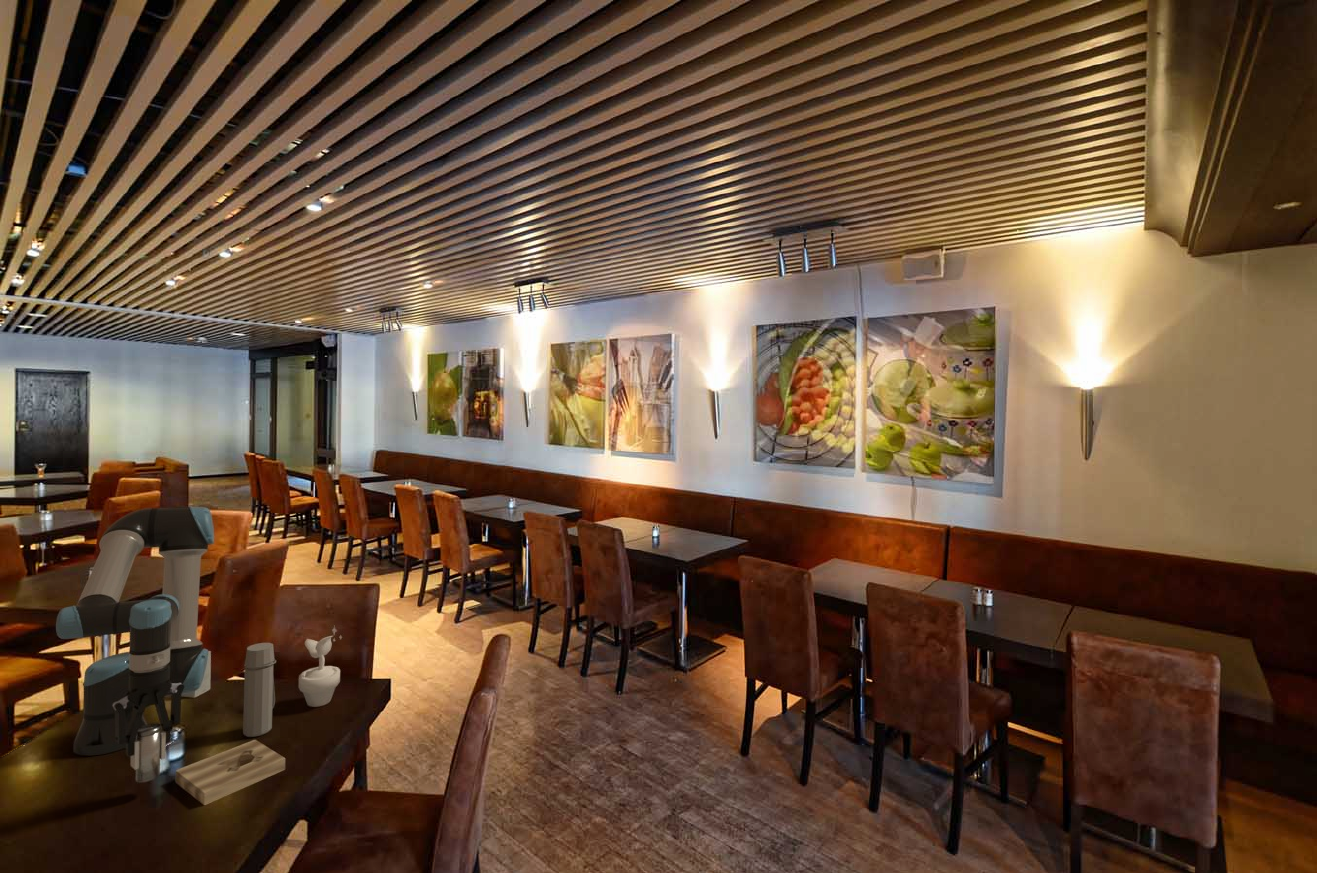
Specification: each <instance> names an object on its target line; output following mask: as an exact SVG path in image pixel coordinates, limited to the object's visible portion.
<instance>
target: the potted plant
mask: <svg viewBox="0 0 1317 873" xmlns="http://www.w3.org/2000/svg"><path fill="white" fill-rule="evenodd" d="M331 631H332V633H333V635H330V636H326V637H323V638H321V639H320V640H319V641H317V640H314V639H309V638H306V640H305V641H304V646H305V648H307V650H308V653H309V655H310V657H311V658H314V659H317V658H318V662H319V663H318V666H316V667H311V668H308V669H305V670H304V671H302V672H301V673H300V674H299V675H298V689H299V691H300V692H301V693H303V696H304V699H305V702H306V705H307V706H309V707H311V708H319V707H321V706H322V707H323V706H325V705H327V704H329V703H330V702H331V700H332V698H333V695H334V693H335V690H336V687H337V686H338V685H339V684H340V682H341V669H340V667H337V666H333V665H325V662H326V661H325V658H326V657H325V656H326V655H328V653H329V652H330V651H331V649H332V645H333V644H332V641H333V642H336V639H335V638H333V639H332V637H334V635H335V634H336V632H337V629H336V626H335V624H334V625H333V629H331ZM342 638H343V636H342V635H341V634H340V636H339V640H342Z"/></svg>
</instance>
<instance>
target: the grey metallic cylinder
mask: <svg viewBox="0 0 1317 873" xmlns="http://www.w3.org/2000/svg"><path fill="white" fill-rule="evenodd" d="M161 729H162V727H161V724H160V723H157V722H155V723H154V722H152V723H147V725H144V726H142V727H140V728H139V729H138V733H137V736H136V739H137V740H138V741H139V768H138V769H136V770H135V782H137V783H146V782H150V781H153V780H155V779H156V778H158V777H159V776H160V771H161V759H160V732H161Z"/></svg>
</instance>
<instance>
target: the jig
mask: <svg viewBox="0 0 1317 873" xmlns="http://www.w3.org/2000/svg"><path fill="white" fill-rule="evenodd" d="M285 770H286V758H285V757H284V756H283V755H281V754H280V753H277V752H276V751H274V750H273V749H271V748H269V746H266V745H265V744H263V743H262V742H260V741H258V740H257V739H253V740H250V741H248V742H245V743H243V744H240V745H238V746H234V747H233V748H230V749H227V750H224V751H222V752H219V753H217V754H214V755H211V756H209V757H207V758H204V759H201V760H199V761H196V762H193V763H191V764H189V765H187V766H186V765H185V766H183V767H181V768H178V769H176V770H175V778H174V780H175V783H176V784H177V785H178V786H179V787H180V788H182V789H183V790H184V791H186V792H187V793H188V794H189V795H191V796H192V797H193V798H194V799H195V800H197V801H198V802H199V803H201V804H202V805H203V806H206V805H209V804H211V803H213V802H216V801H217V800H220V799H223V798H225V797H227V796H229V795H231V794H233V793H236V792H238V791H240V790H243V789H245V788H247V787H250V786H252V785H254V784H256V783H258V782H261V781H262V780H265V779H268V778H269V777H271V776H274V775H276V774H278V773H280V772H283V771H285Z"/></svg>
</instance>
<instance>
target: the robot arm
mask: <svg viewBox="0 0 1317 873" xmlns="http://www.w3.org/2000/svg"><path fill="white" fill-rule="evenodd" d="M213 522H214V521H213V516H212V513H211V510H210V509H209V508H207V507H205V506H204V507H203V506H182V507H181V506H177V507H151V508H149V507H148V508H147V507H146V508H141V509H138V510H134V511H132V512H129V513H127V514H126V515H124V516H122V517H120V518H119V519H118V520H116V521H114V523H112V524H110V526H109V527H108V528H107V529H106V530H105V531H104V533H103V534H102V536H101V538H100V540H99V543H98V546H99V549H100V552H99V554H98V556H97V558H96V561H95V563H94V565H93V568H92V570H91V571H90V575H89V577H88V579H87V581H86V583H85V586H84V587H83V590H82V592H81V595H80V596H79V599H78V602H77V604H76V605H72V606H67V607H66V606H65V607H63V608H62V609H60V610H59V612H58V614H57V616H56V621H55V623H56V624H55V631H56V636H58V638H60V639H61V640H69V639H72V640H73V639H84V638H93V637H100V636H108V635H109V636H110V635H115V634H116V635H117V634H127V633H129V651H124V652H121V653H120V652H119V653H116V654H112V655H108V656H106V657H104V658H103V657H102V658H101V659H99V660H96V661H95V662H93V663H91V664H89V666H87V668H86V669H85V670H84V678H83V682H82V687H83V700H82V701H83V706H82V707H83V713H82V714H83V716H82V722H81V724H80V726H79V727H78V728H79V729H78V731H77V734H76V736H75V738H74V740H73V753H74V754H75V755H79V756H98V755H99V756H100V755H105V754H110V753H114V752H117V751H120V750H121V751H122V750H123V749H125V754H126V756H127V757H128V758H130V767H131V768H132V769H134V771H136V769H138V768H139V741H138V740H137V739H136V736H137V733H138V729H139V728H140V727H142V726H144V725H147V724H148V723H147V721H146V719H145V716H144V713H145V711H146V708H148V707H150V706H155V710H156V714H157V716H158V721H159V724H160V725H161V732H160V761H161V760H164V759H166V744H168V743H170V741H171V732H172V730H173V727H175V726H178V725H180V723H181V711H182V710H181V709H182V697H181V694H184V693H189V692H194V691H196V690H197V689H199V687H200V686H201V684H202V681H203V678H204V674H205V670H206V665H207V659H208V651H209V650H208V649H206V648H203V642H202V641H201V640H199V639H198V638H197V635H198V619H199V618H198V615H199V598H200V580H201V564H202V556H203V555H204V554H206V553H207V552H208V549H209V548H208V546H211V545H213V544H214V542H215V530H214V523H213ZM147 548H148V549H149V548H158V554H159V555H160V556H161V557H162V558H163V559H164V564H163V566H164V567H163V580H162V593H161V594H157V595H154V596H152V597H151V598H148V599H141V600H131V601H130V600H129V601H120V599H121V597H122V595H123V592H124V589H125V586H126V584H127V580H128V578H129V574H130V571H131V569H132V566H133V564H134V560H135V558H136V556H137V555H139V554H140V553H141V552H142V551H143V549H147ZM165 697H166V698H167V697H170V717H169V713H168V711H167V707H166V702H165Z"/></svg>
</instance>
